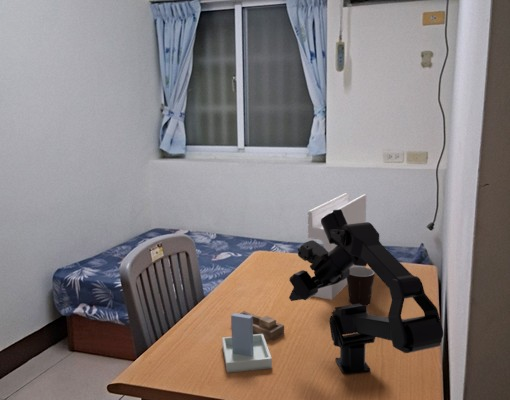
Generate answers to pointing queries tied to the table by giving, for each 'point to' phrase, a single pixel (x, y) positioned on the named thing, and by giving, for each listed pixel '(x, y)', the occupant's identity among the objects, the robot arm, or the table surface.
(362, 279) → the coffee mug
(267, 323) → the offcut
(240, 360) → the tray
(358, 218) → the white piece
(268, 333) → the rack
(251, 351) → the pale blue tall block
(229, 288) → the table surface
